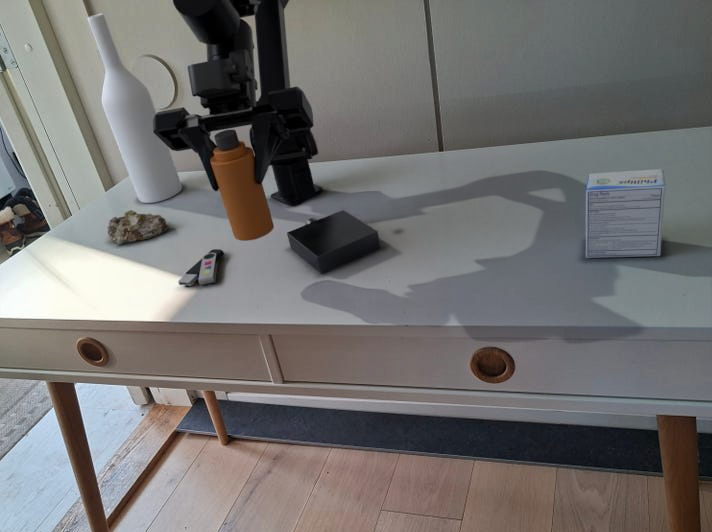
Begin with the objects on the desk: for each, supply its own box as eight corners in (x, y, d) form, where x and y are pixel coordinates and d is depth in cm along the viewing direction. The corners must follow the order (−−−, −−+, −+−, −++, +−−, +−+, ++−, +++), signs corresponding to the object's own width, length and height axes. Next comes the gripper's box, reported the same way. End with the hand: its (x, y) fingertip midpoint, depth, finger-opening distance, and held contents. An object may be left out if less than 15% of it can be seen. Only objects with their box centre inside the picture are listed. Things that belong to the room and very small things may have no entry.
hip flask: (381, 248, 93) (378, 231, 91) (321, 274, 91) (317, 256, 89) (341, 222, 102) (337, 205, 101) (285, 245, 100) (281, 228, 98)
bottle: (189, 189, 126) (127, 9, 109) (148, 207, 123) (78, 24, 106) (172, 180, 132) (110, 7, 115) (132, 197, 129) (63, 22, 112)
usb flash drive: (212, 254, 102) (210, 248, 101) (242, 256, 99) (240, 249, 99) (178, 286, 96) (176, 279, 95) (209, 288, 93) (207, 281, 93)
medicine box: (659, 238, 81) (665, 167, 76) (660, 258, 78) (666, 185, 73) (587, 240, 84) (587, 172, 79) (585, 259, 81) (585, 189, 76)
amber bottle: (226, 234, 90) (195, 138, 82) (259, 217, 92) (231, 122, 85) (248, 244, 86) (217, 145, 79) (281, 226, 88) (255, 128, 81)
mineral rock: (91, 236, 111) (110, 201, 116) (105, 255, 114) (123, 221, 119) (151, 233, 108) (168, 198, 112) (163, 254, 111) (179, 219, 116)
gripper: (128, 43, 81) (131, 172, 78) (285, 11, 77) (293, 145, 74) (171, 92, 91) (175, 206, 89) (310, 65, 88) (318, 184, 85)
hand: (236, 186), depth 84 cm, fingers closed on amber bottle, 5 cm apart
